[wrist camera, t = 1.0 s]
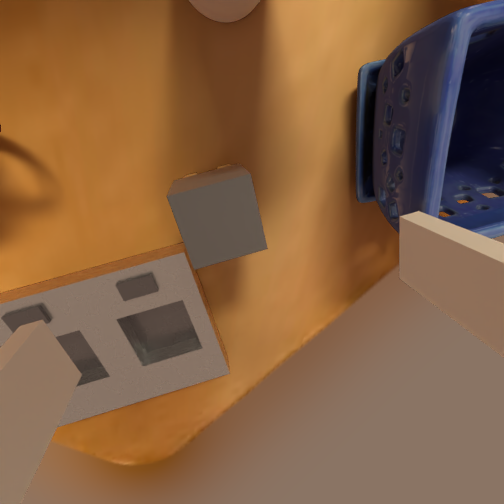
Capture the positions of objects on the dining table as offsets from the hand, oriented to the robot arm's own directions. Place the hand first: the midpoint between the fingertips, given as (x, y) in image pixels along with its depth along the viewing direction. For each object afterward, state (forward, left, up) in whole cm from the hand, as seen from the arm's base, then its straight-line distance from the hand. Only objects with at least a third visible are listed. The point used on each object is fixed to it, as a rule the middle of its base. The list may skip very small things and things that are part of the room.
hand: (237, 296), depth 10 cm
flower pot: (-1, +19, -18) cm, 26 cm away
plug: (0, 0, -17) cm, 17 cm away
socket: (+12, -14, -17) cm, 25 cm away
